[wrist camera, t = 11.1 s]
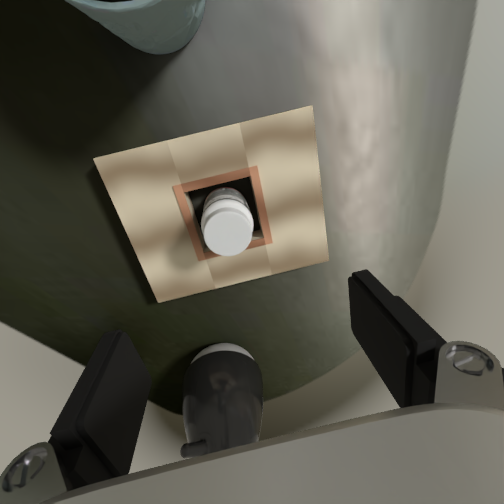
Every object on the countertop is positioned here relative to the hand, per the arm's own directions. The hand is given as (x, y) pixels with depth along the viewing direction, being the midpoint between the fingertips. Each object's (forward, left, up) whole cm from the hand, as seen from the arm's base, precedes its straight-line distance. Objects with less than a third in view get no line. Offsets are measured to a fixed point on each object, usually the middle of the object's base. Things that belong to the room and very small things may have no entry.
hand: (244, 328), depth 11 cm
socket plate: (+1, -1, -20) cm, 20 cm away
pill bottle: (+1, 0, -21) cm, 21 cm away
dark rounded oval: (+22, -7, -21) cm, 31 cm away
